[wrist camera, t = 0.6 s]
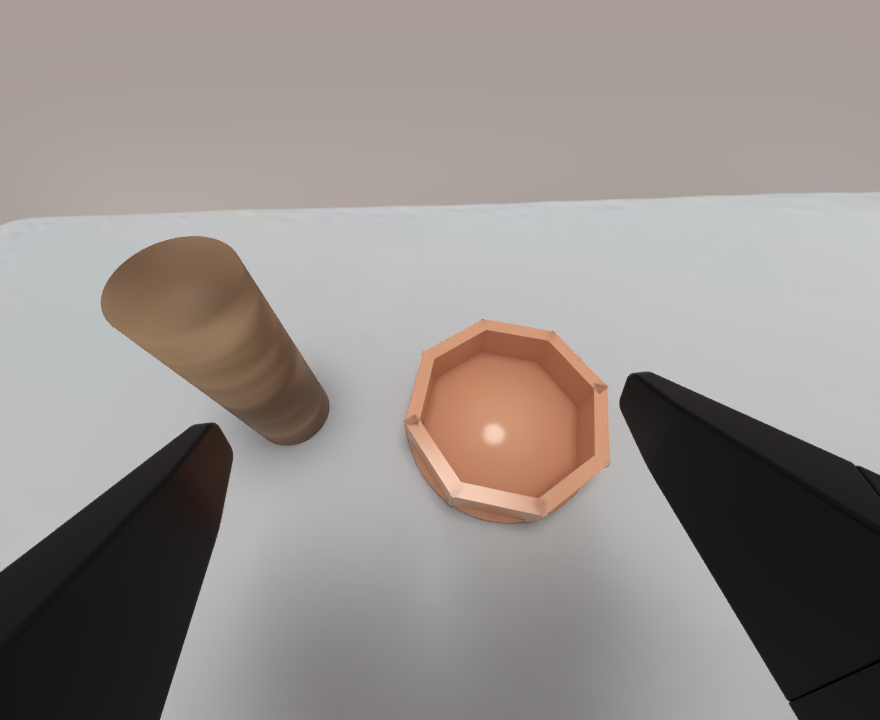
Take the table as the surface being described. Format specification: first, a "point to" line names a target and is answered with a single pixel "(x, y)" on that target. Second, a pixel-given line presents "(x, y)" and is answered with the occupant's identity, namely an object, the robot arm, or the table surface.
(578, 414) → the terracotta dish
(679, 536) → the table surface
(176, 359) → the walnut peg
